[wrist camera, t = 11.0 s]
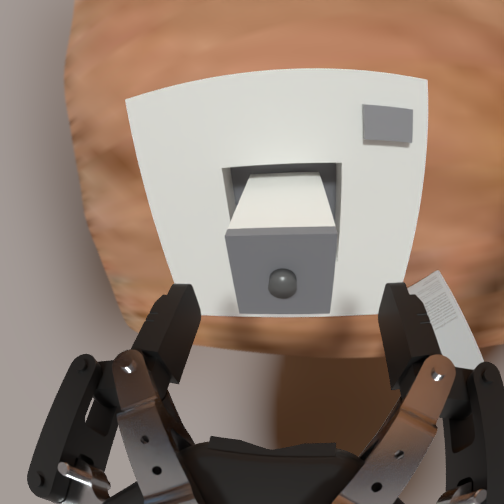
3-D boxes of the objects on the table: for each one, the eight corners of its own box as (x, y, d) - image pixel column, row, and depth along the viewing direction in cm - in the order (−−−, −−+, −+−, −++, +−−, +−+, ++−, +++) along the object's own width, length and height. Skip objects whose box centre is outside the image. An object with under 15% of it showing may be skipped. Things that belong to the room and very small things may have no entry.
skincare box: (450, 302, 22) (488, 399, 12) (418, 322, 24) (446, 421, 14) (438, 266, 20) (491, 377, 10) (401, 289, 22) (437, 406, 12)
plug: (318, 171, 17) (339, 241, 10) (318, 231, 19) (330, 322, 12) (250, 174, 18) (221, 244, 10) (257, 232, 20) (237, 322, 13)
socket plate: (410, 79, 12) (430, 80, 10) (386, 292, 22) (394, 316, 20) (144, 96, 15) (121, 100, 13) (194, 294, 25) (184, 317, 23)
